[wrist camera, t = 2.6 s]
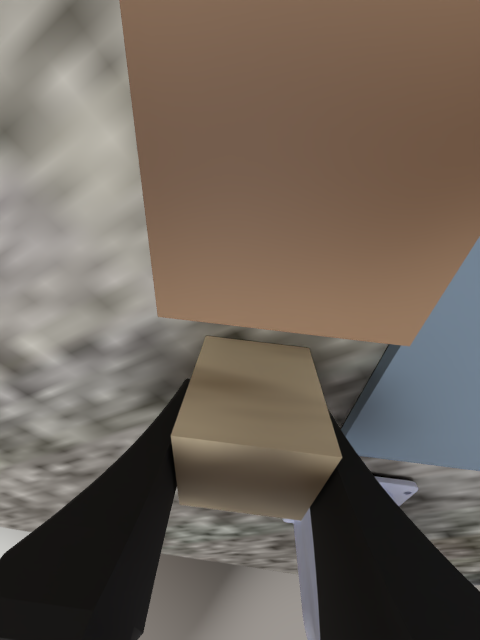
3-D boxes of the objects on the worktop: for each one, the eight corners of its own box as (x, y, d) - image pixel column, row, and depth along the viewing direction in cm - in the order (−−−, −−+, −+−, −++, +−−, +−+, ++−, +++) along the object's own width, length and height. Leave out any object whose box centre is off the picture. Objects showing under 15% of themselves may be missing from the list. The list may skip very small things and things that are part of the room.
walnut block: (335, 266, 9) (409, 346, 4) (207, 251, 9) (158, 316, 4) (394, 85, 6) (731, -162, 2) (210, 67, 6) (92, -215, 2)
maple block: (287, 412, 13) (300, 520, 9) (205, 402, 13) (179, 504, 9) (309, 348, 11) (342, 457, 6) (206, 335, 11) (170, 435, 6)
